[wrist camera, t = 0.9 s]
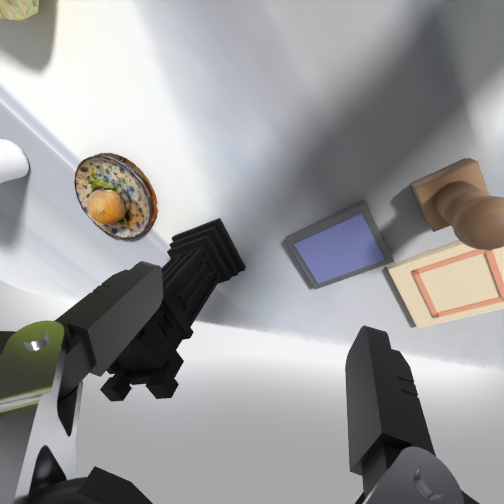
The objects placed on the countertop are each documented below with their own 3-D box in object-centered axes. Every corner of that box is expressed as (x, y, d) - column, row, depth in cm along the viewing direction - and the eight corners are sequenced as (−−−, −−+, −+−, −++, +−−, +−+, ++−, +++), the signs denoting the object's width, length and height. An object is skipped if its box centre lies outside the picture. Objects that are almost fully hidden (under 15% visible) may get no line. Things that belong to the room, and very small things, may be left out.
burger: (80, 141, 35) (25, 149, 28) (161, 168, 34) (123, 183, 27) (87, 220, 41) (44, 241, 35) (156, 245, 40) (124, 272, 34)
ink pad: (364, 199, 29) (365, 203, 28) (392, 256, 31) (394, 262, 30) (286, 236, 34) (284, 241, 32) (315, 284, 36) (315, 290, 35)
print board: (508, 223, 27) (514, 227, 26) (531, 296, 30) (537, 302, 29) (386, 266, 32) (388, 270, 31) (416, 324, 35) (418, 329, 34)
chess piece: (174, 235, 38) (50, 340, 21) (219, 218, 35) (117, 325, 18) (201, 280, 41) (110, 404, 24) (245, 267, 37) (177, 400, 21)
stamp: (465, 156, 25) (540, 184, 16) (480, 201, 26) (556, 249, 18) (409, 183, 27) (448, 220, 18) (426, 222, 29) (469, 274, 20)
